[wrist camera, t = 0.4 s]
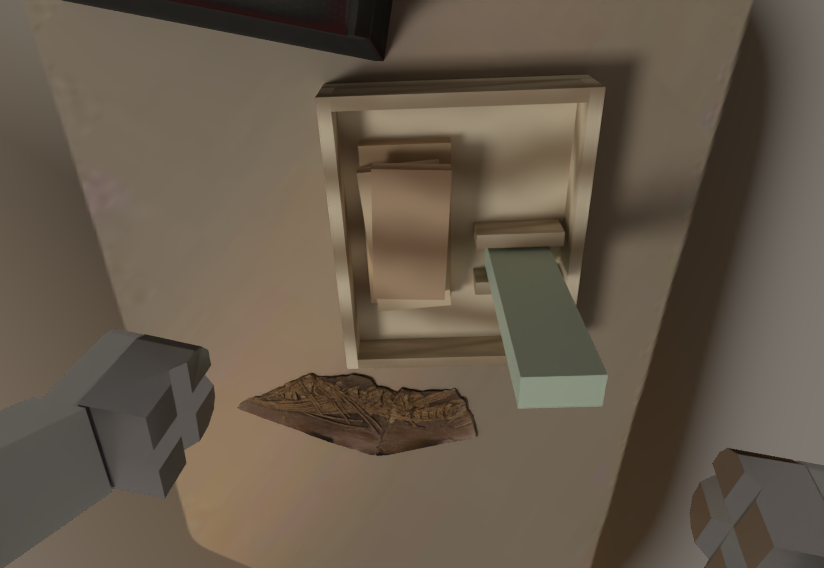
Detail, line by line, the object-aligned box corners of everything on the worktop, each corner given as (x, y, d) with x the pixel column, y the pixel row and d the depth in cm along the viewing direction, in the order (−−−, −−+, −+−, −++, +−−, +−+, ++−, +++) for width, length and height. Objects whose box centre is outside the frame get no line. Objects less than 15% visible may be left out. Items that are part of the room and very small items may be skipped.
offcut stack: (357, 140, 44) (352, 158, 40) (450, 137, 44) (453, 154, 40) (370, 294, 51) (367, 321, 47) (450, 292, 51) (453, 318, 47)
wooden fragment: (491, 392, 59) (492, 399, 58) (465, 463, 65) (466, 471, 64) (242, 354, 57) (239, 360, 56) (238, 431, 62) (235, 438, 61)
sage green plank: (485, 239, 48) (520, 377, 33) (544, 237, 48) (608, 374, 33) (484, 263, 49) (518, 408, 34) (542, 262, 49) (602, 406, 34)
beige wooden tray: (323, 84, 43) (315, 97, 39) (588, 74, 43) (605, 86, 39) (351, 339, 55) (347, 368, 51) (557, 333, 55) (568, 362, 51)
